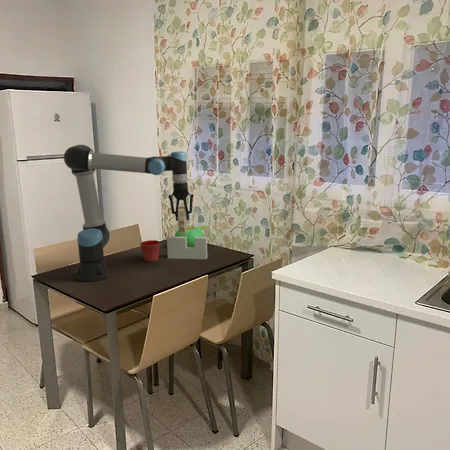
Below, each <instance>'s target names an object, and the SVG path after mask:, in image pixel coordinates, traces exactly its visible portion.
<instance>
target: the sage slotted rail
mask: <svg viewBox="0 0 450 450" xmlns="http://www.w3.org/2000/svg"><path fill="white" fill-rule="evenodd" d="M166 245H167V246H166V247H167V259H177V260H178V259H180V260H185V259H186V260H188V259H189V260H207V259H208V238H207V236H204V237H195V238H194V247H187V237H179V236H175V235H174V236H173V235H172V236H170V235H168V236H167V237H166Z"/></svg>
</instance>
